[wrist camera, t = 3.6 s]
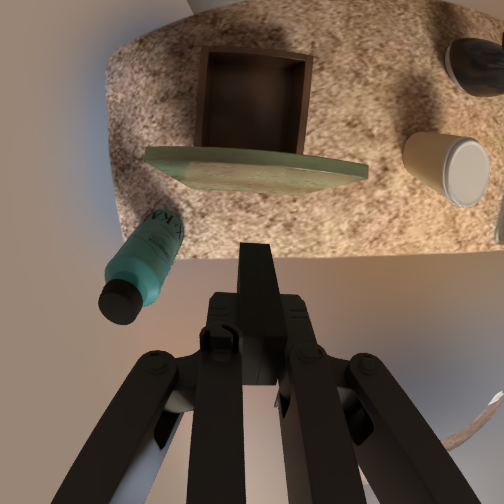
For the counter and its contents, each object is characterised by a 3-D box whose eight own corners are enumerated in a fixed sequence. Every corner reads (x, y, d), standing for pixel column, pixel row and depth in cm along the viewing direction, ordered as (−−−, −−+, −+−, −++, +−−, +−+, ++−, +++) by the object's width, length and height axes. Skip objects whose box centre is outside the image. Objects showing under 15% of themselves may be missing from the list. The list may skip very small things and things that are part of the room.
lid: (145, 146, 12) (143, 161, 13) (369, 164, 13) (368, 179, 13) (192, 181, 29) (191, 189, 29) (299, 189, 30) (298, 196, 30)
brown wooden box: (209, 59, 29) (201, 45, 22) (299, 67, 30) (313, 55, 23) (202, 170, 36) (192, 184, 29) (287, 176, 37) (298, 191, 30)
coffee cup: (435, 188, 38) (481, 214, 27) (392, 177, 37) (438, 203, 27) (446, 136, 34) (496, 150, 23) (403, 119, 33) (454, 127, 22)
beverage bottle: (174, 252, 42) (136, 348, 24) (138, 229, 40) (78, 314, 22) (196, 219, 39) (163, 308, 22) (158, 195, 37) (95, 266, 20)
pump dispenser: (465, 41, 25) (526, 37, 11) (480, 94, 29) (542, 104, 16) (427, 38, 26) (492, 26, 12) (445, 97, 31) (513, 105, 17)
